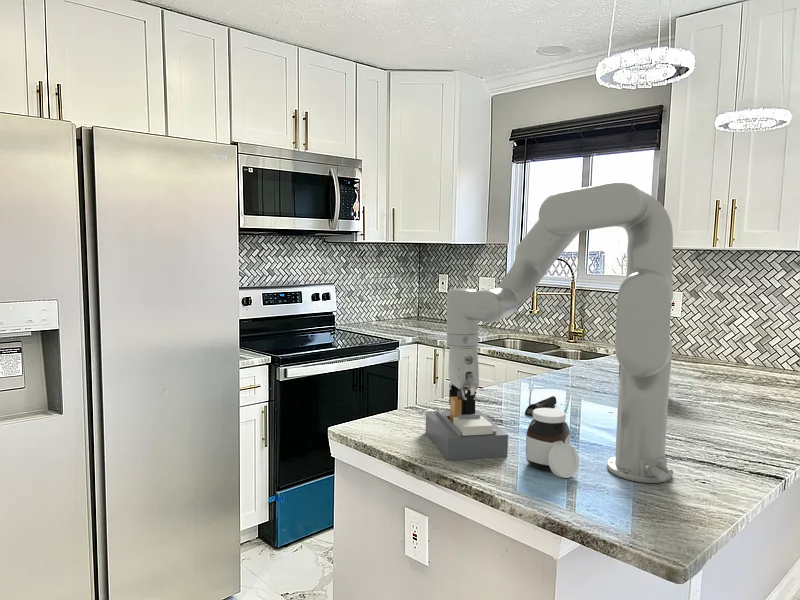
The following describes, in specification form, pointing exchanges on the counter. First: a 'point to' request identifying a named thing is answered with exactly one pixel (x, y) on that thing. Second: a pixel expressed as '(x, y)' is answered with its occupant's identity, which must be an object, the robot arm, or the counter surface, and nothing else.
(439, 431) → the socket
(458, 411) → the plug
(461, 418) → the shutter
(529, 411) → the electric trimmer
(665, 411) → the robot arm
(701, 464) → the counter surface
